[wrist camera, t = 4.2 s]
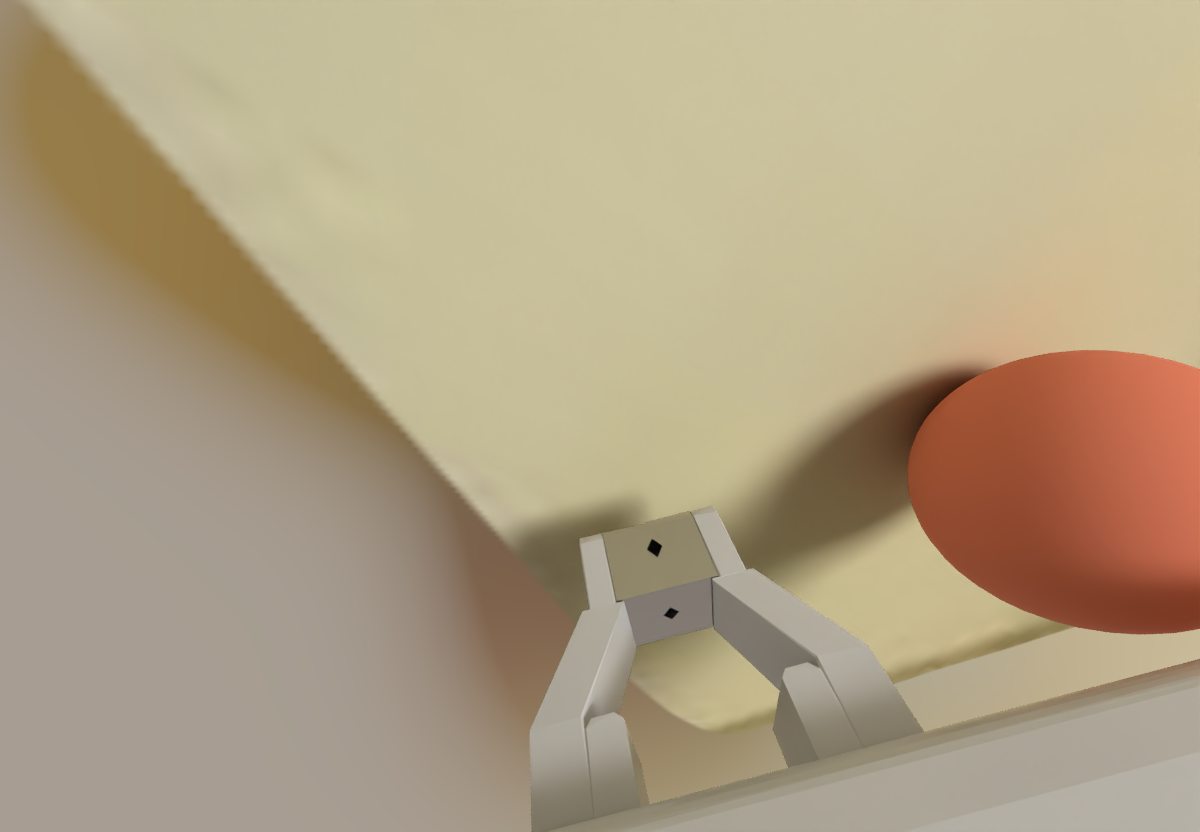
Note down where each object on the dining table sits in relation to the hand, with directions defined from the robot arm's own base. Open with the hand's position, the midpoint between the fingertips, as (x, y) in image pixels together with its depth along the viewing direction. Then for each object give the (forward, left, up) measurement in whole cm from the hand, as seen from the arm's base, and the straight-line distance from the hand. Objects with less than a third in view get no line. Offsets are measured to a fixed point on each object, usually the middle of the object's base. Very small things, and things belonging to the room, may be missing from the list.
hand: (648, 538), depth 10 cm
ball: (0, +9, +1) cm, 9 cm away
